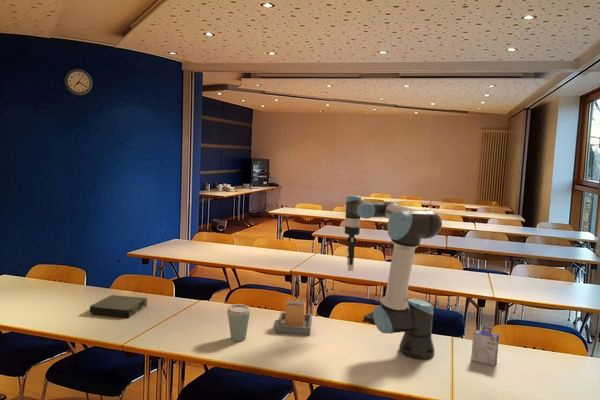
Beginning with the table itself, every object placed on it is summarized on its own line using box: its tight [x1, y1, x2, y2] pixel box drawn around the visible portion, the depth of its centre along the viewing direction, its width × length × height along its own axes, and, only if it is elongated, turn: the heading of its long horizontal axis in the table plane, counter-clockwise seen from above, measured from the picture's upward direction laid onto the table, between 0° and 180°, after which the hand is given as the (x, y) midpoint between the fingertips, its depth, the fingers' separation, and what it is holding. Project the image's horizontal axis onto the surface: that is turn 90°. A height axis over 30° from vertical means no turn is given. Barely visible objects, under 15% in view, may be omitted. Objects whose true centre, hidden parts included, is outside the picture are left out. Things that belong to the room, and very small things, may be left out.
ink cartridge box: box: [470, 326, 500, 366], centre depth 207 cm, size 10×6×14 cm, turn 58°
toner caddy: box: [285, 300, 306, 327], centre depth 238 cm, size 6×9×11 cm, turn 86°
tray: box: [275, 311, 313, 336], centre depth 238 cm, size 20×16×4 cm
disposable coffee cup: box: [226, 303, 251, 342], centre depth 218 cm, size 11×11×15 cm
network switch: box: [89, 294, 148, 319], centre depth 250 cm, size 23×23×5 cm
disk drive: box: [363, 311, 375, 324], centre depth 252 cm, size 10×3×15 cm
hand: (350, 267), depth 245 cm, fingers open, 13 cm apart
